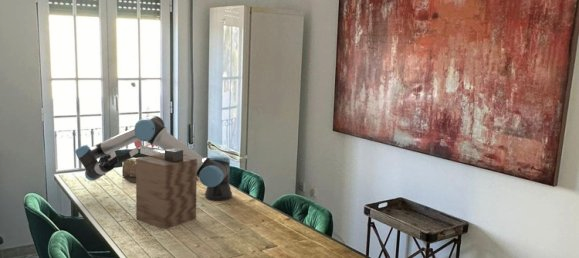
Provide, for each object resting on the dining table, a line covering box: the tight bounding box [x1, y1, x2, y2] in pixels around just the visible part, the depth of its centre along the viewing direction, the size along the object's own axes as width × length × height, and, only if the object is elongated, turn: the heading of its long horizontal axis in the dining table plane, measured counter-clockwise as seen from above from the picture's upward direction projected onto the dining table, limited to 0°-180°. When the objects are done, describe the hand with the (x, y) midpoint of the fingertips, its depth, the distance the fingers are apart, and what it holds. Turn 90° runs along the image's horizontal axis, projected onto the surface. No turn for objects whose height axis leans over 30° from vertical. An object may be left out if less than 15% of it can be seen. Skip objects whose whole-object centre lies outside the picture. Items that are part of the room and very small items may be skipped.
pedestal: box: [135, 155, 198, 230], centre depth 239 cm, size 20×20×30 cm
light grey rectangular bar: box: [139, 146, 183, 162], centre depth 239 cm, size 6×26×5 cm, turn 54°
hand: (126, 151), depth 254 cm, fingers open, 13 cm apart
